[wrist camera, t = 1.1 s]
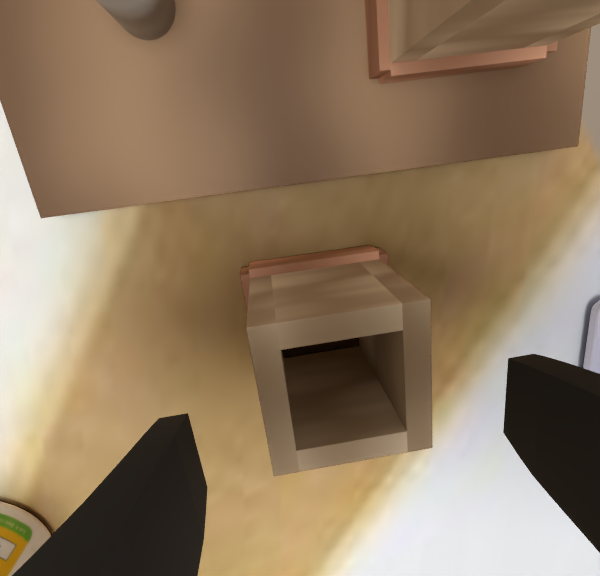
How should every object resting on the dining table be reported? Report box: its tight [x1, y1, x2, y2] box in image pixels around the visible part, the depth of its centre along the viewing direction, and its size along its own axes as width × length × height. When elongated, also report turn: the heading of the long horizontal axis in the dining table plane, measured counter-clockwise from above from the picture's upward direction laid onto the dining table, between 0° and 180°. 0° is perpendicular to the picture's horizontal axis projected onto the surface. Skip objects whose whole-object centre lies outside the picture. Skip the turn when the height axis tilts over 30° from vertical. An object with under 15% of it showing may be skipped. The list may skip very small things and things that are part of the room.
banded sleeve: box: [240, 245, 432, 476], centre depth 12 cm, size 5×5×5 cm
